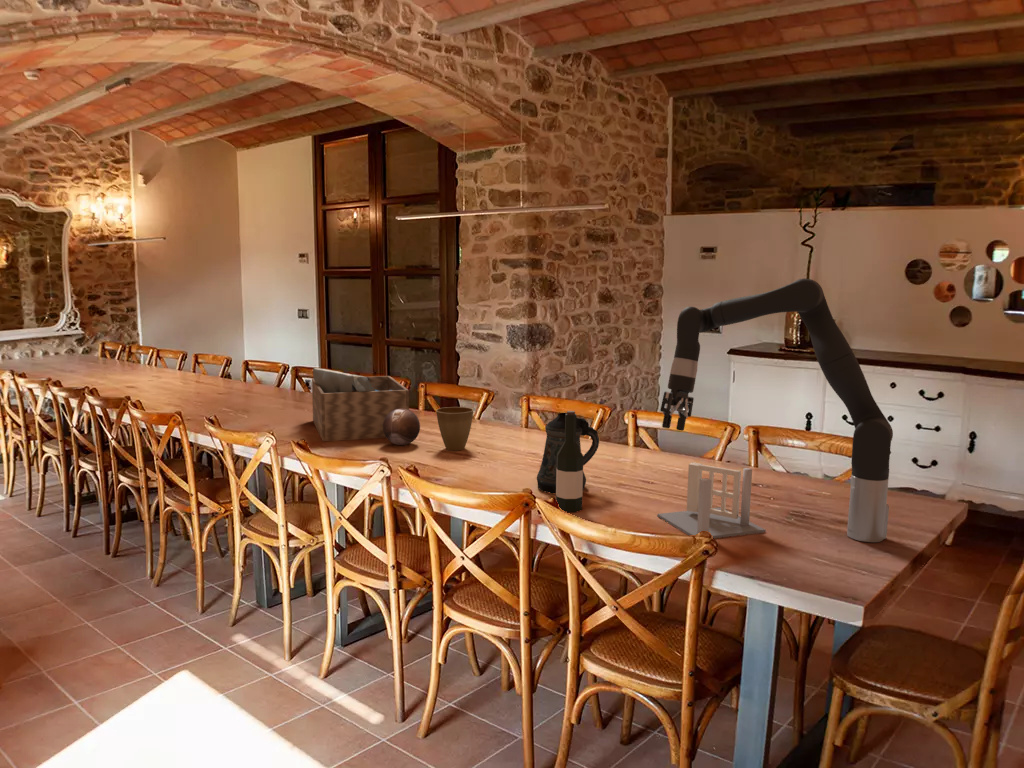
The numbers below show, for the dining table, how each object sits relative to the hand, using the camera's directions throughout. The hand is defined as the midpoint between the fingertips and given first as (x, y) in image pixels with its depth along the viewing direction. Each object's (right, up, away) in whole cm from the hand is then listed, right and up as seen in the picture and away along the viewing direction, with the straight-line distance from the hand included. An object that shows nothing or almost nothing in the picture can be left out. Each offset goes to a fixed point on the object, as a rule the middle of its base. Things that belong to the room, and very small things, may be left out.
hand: (672, 429), depth 230 cm
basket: (-115, -6, +122) cm, 168 cm away
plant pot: (-70, -13, +84) cm, 110 cm away
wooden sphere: (-93, -12, +90) cm, 130 cm away
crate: (-116, -7, +122) cm, 168 cm away
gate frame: (+9, -27, -5) cm, 29 cm away
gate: (+11, -25, -3) cm, 27 cm away
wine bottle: (-30, -25, +8) cm, 40 cm away
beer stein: (-30, -21, +31) cm, 48 cm away
